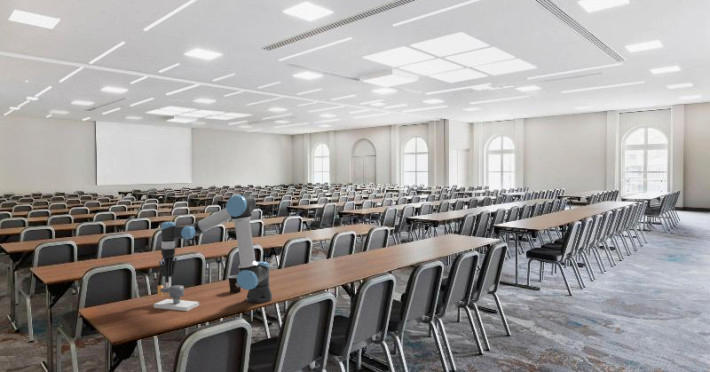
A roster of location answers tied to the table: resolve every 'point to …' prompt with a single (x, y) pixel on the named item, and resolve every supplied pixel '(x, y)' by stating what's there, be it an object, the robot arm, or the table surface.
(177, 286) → the orange knob joystick
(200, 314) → the table surface
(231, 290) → the coffee mug
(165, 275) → the robot arm
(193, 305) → the post base
